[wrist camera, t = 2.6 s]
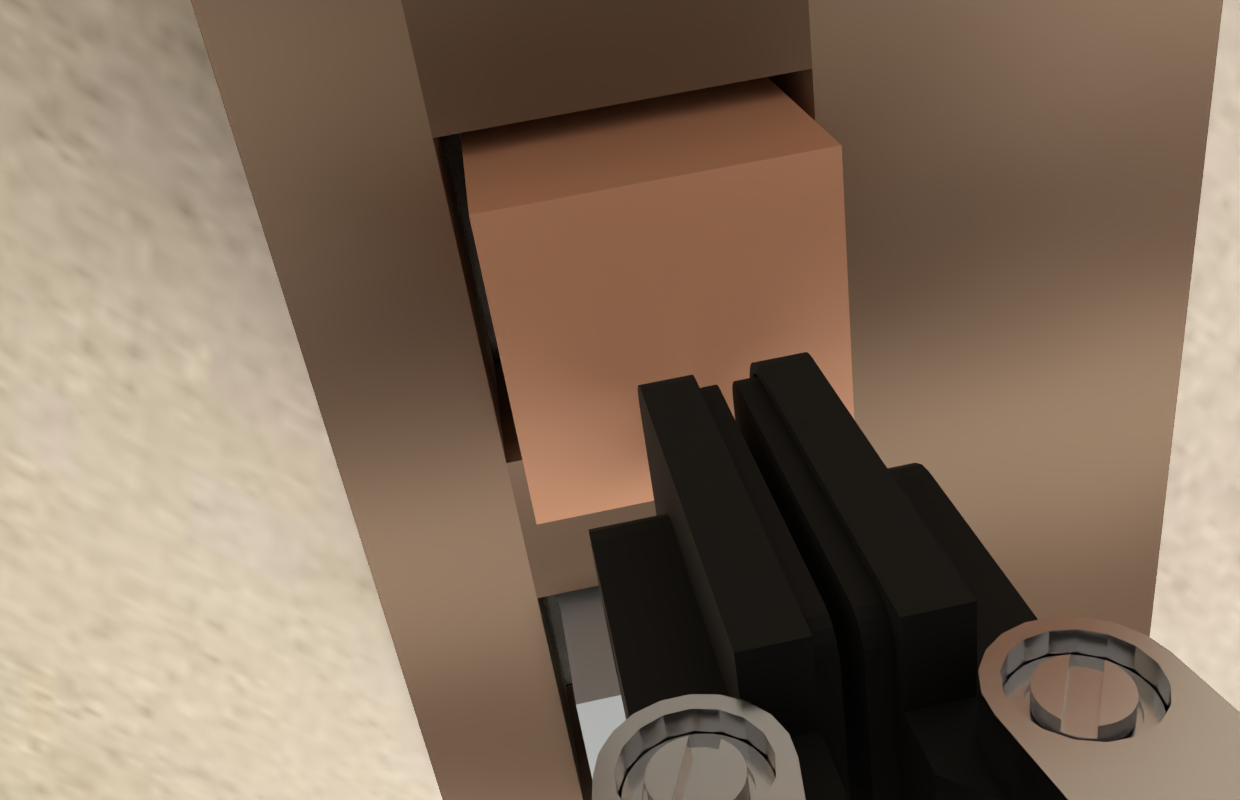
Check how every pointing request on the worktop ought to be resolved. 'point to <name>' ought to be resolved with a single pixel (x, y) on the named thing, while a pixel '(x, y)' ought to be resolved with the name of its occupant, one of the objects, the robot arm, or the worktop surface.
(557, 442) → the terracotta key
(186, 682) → the worktop surface
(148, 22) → the worktop surface
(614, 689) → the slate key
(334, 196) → the key panel
